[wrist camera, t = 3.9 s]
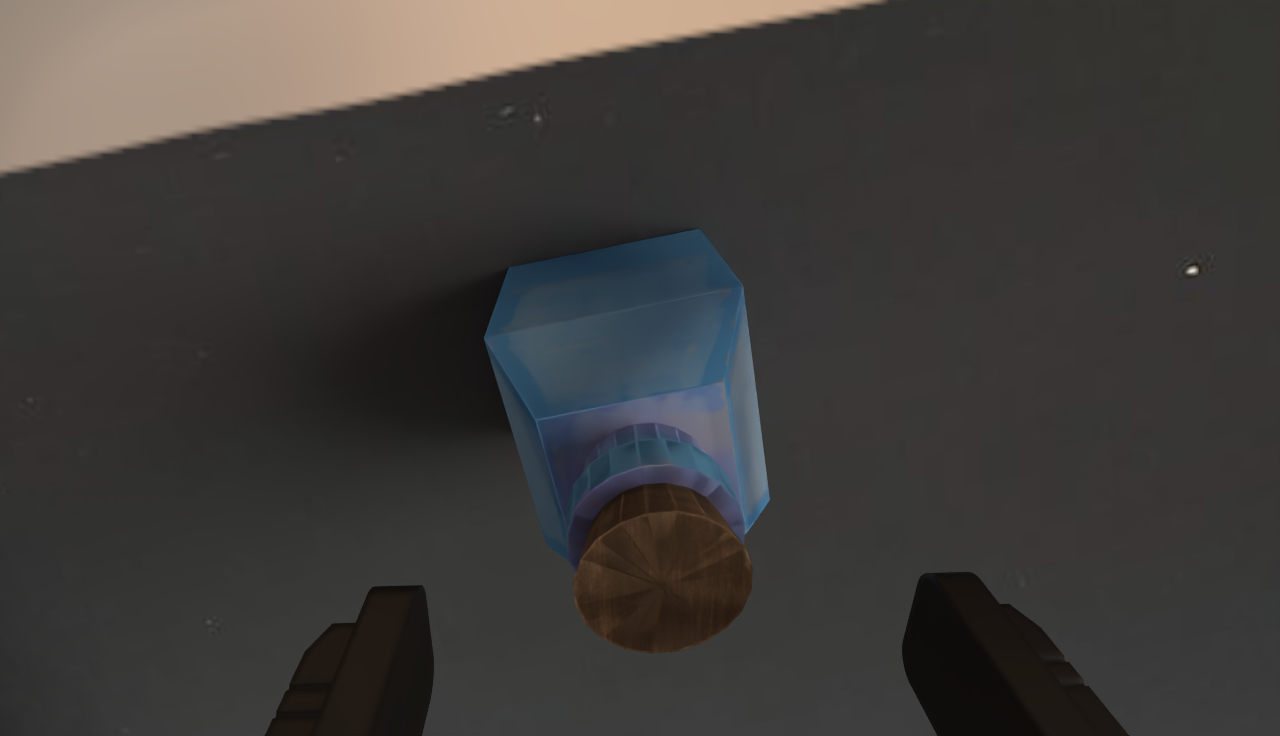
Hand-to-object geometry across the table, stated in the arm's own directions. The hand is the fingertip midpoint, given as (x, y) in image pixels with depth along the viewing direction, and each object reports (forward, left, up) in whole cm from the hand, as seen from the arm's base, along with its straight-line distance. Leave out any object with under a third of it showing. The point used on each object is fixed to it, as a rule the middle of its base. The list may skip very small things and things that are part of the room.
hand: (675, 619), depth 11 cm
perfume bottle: (0, 0, -13) cm, 13 cm away
